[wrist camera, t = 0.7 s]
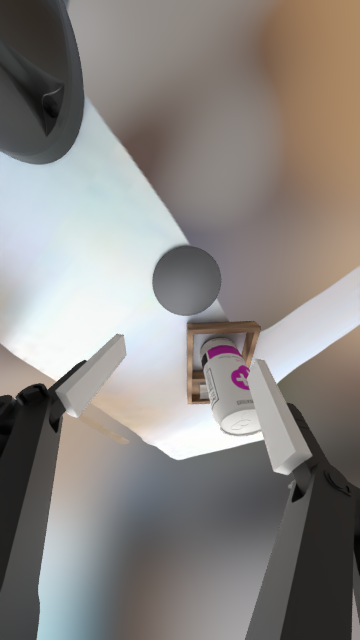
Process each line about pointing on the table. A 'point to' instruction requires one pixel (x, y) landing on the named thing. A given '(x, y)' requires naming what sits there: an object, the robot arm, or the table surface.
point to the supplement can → (229, 388)
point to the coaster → (186, 281)
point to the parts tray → (196, 379)
